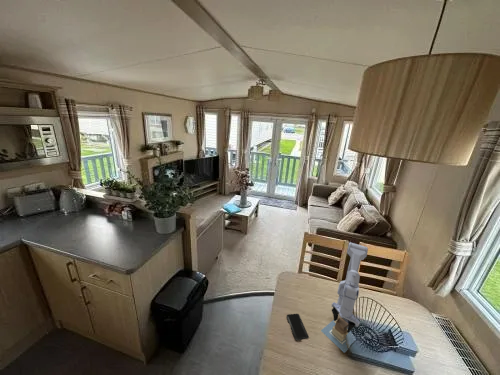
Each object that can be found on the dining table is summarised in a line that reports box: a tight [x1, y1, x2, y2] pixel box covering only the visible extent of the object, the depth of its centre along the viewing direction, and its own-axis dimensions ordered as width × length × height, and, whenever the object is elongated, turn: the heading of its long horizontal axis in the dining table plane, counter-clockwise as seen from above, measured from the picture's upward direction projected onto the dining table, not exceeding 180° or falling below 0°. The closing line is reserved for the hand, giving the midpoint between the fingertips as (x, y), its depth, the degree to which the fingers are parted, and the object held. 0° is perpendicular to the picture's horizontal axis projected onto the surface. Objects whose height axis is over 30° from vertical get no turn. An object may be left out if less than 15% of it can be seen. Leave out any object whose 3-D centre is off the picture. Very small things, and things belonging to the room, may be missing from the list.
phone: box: [286, 313, 310, 342], centre depth 118 cm, size 8×1×15 cm
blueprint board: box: [320, 319, 349, 354], centre depth 115 cm, size 14×14×1 cm
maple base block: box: [332, 326, 348, 342], centre depth 114 cm, size 6×6×4 cm
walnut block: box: [335, 317, 349, 334], centre depth 112 cm, size 4×4×4 cm
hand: (341, 325), depth 113 cm, fingers open, 7 cm apart
